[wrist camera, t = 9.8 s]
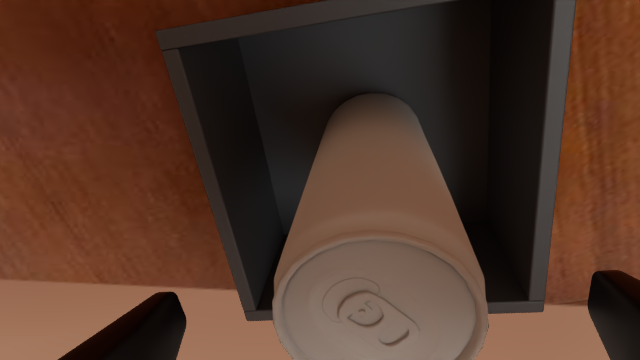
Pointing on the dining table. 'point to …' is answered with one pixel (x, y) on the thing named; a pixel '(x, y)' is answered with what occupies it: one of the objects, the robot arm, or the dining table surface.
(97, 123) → the dining table surface
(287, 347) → the beverage can
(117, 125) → the dining table surface
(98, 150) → the dining table surface
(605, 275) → the robot arm
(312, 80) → the waste bin
